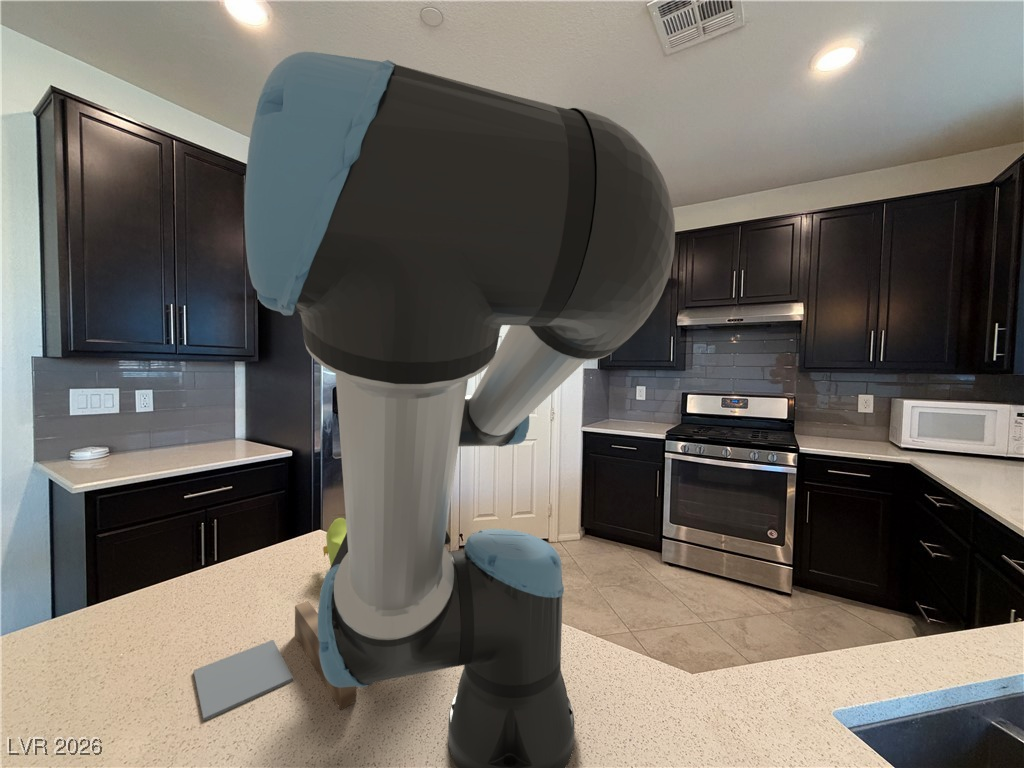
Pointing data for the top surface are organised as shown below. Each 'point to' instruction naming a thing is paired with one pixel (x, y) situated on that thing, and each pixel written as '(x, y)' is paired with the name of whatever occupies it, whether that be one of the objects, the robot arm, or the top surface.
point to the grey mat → (240, 678)
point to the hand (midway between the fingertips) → (394, 601)
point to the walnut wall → (309, 642)
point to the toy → (335, 538)
